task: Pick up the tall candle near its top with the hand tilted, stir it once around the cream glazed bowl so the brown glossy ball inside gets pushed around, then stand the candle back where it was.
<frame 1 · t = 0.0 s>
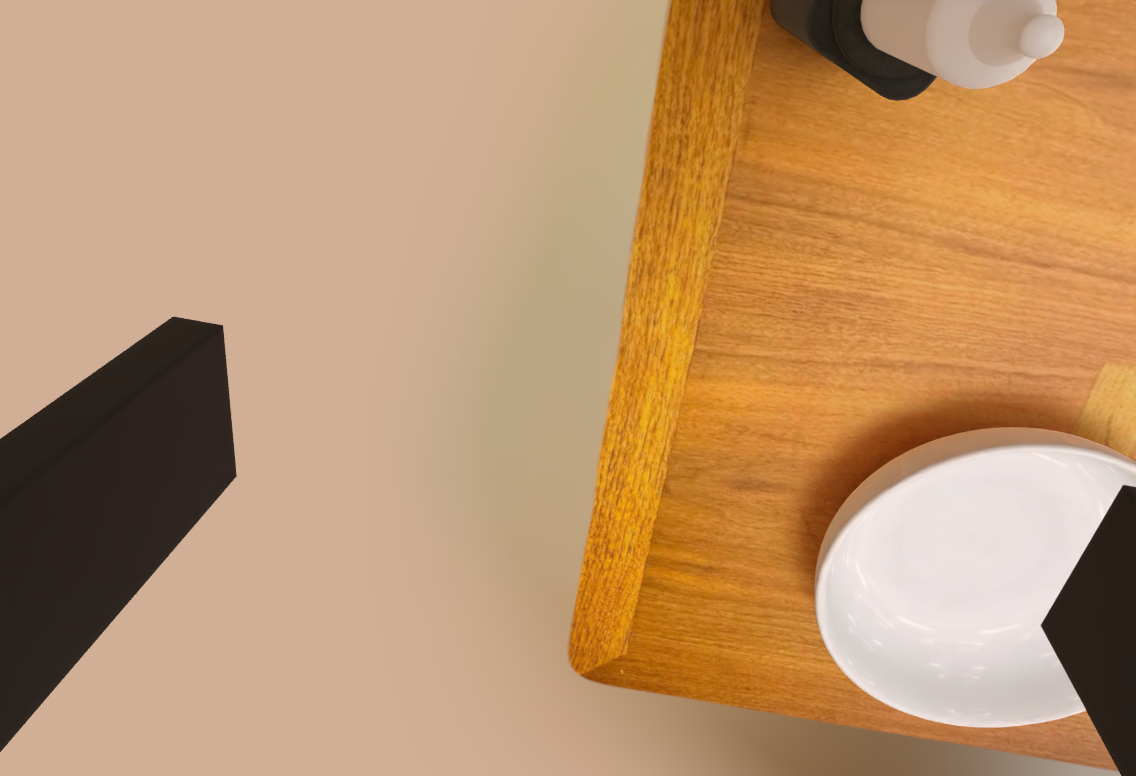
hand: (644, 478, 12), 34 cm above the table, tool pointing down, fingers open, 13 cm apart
serving bowl: (965, 526, 51), on the table
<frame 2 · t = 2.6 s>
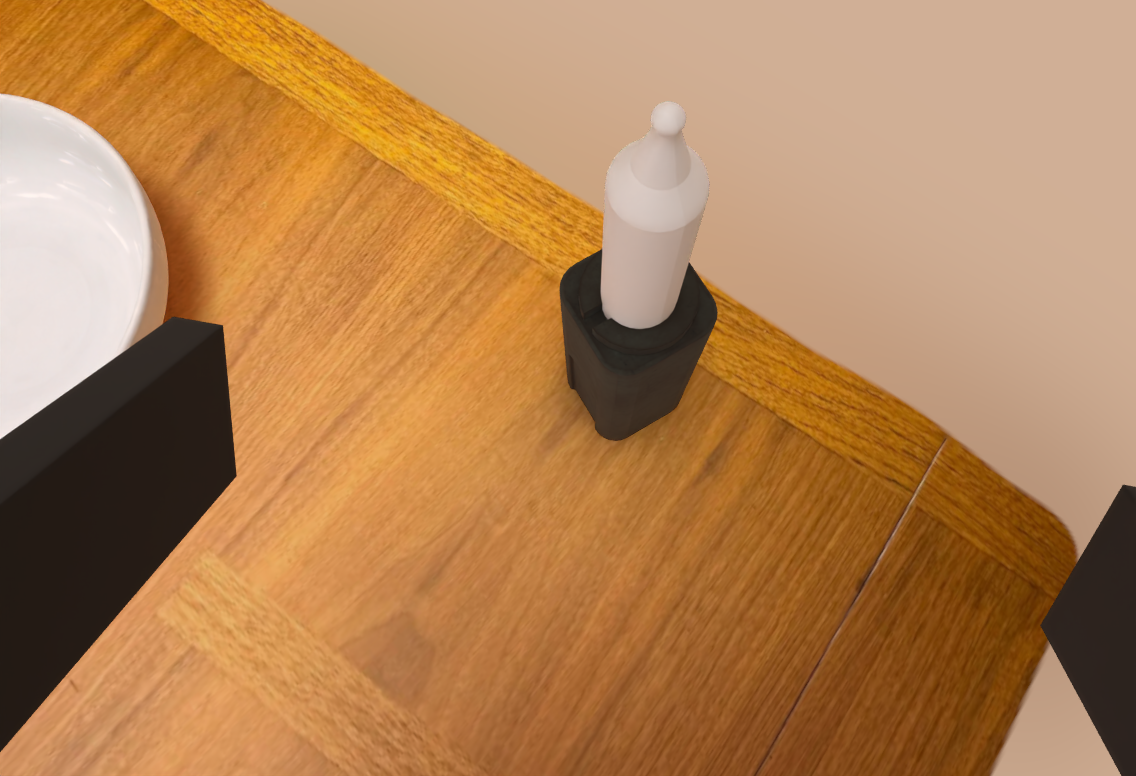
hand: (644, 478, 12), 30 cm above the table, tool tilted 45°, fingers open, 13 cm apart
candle: (623, 386, 43), on the table
serving bowl: (30, 326, 45), on the table
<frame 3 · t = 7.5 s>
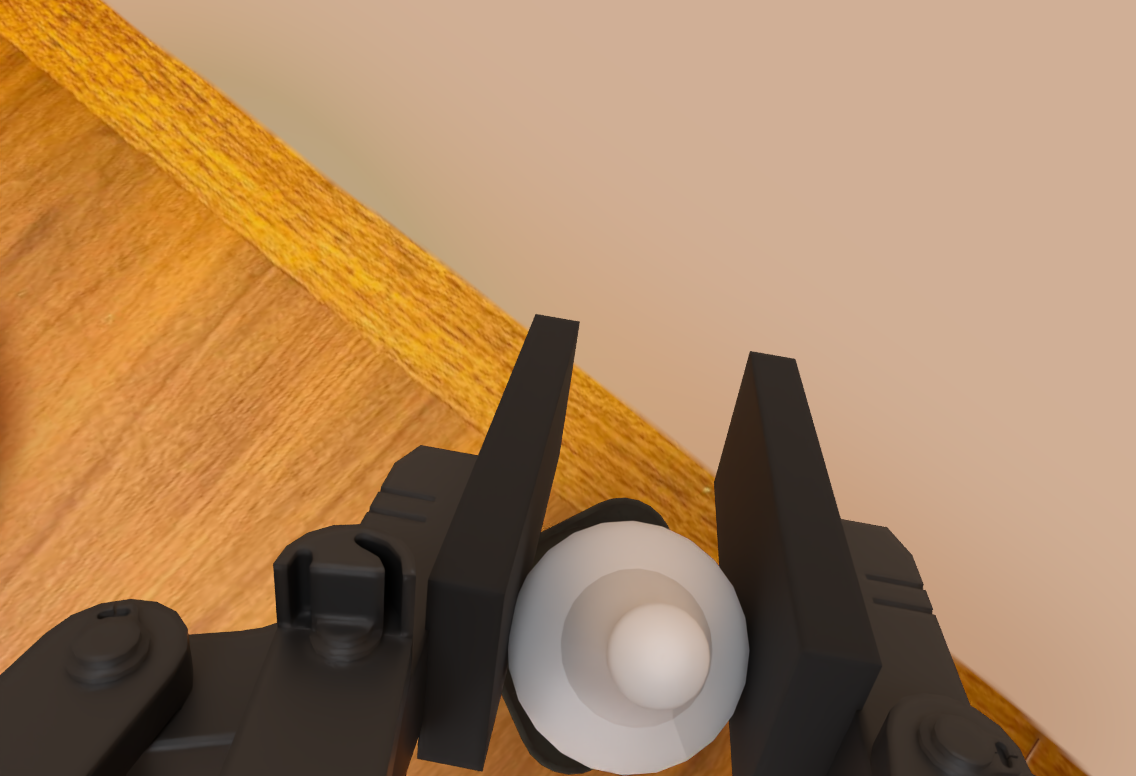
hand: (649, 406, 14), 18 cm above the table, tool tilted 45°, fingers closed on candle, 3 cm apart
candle: (584, 623, 30), on the table, touching gripper
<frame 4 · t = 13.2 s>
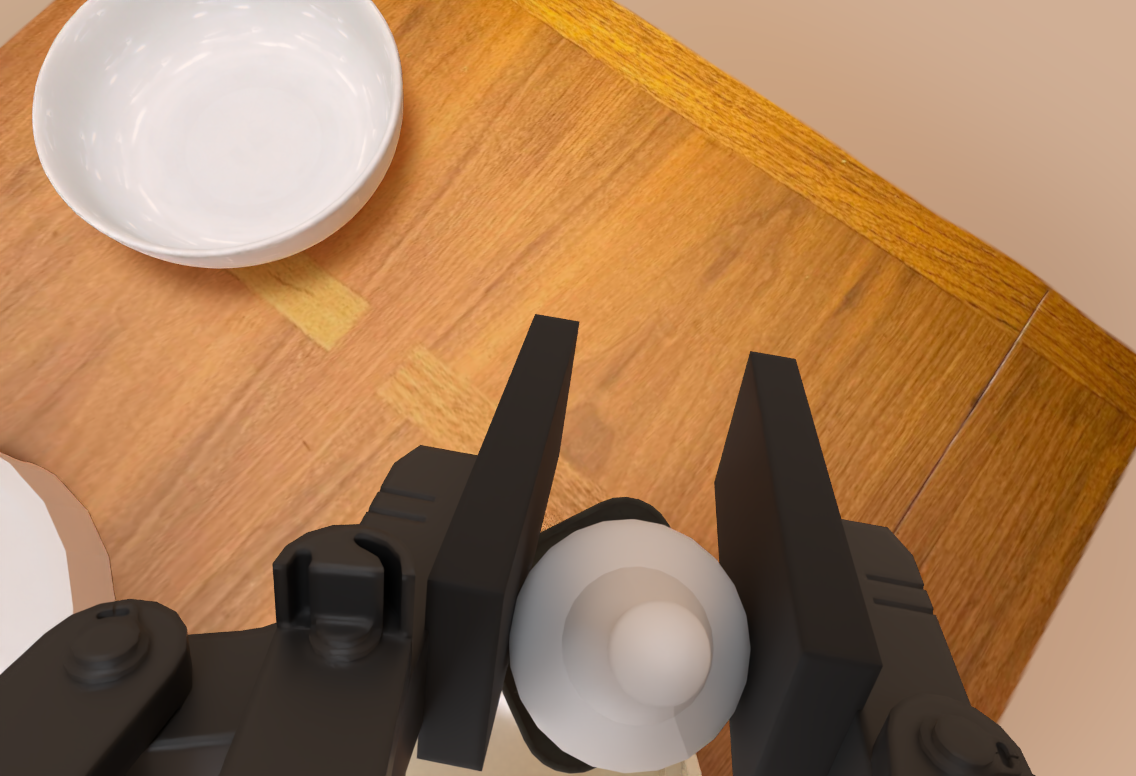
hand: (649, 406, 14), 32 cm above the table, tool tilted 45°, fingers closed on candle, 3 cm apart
mixing bowl: (519, 770, 42), on the table
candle: (585, 623, 30), point 14 cm above the table, touching gripper
serving bowl: (263, 156, 52), on the table
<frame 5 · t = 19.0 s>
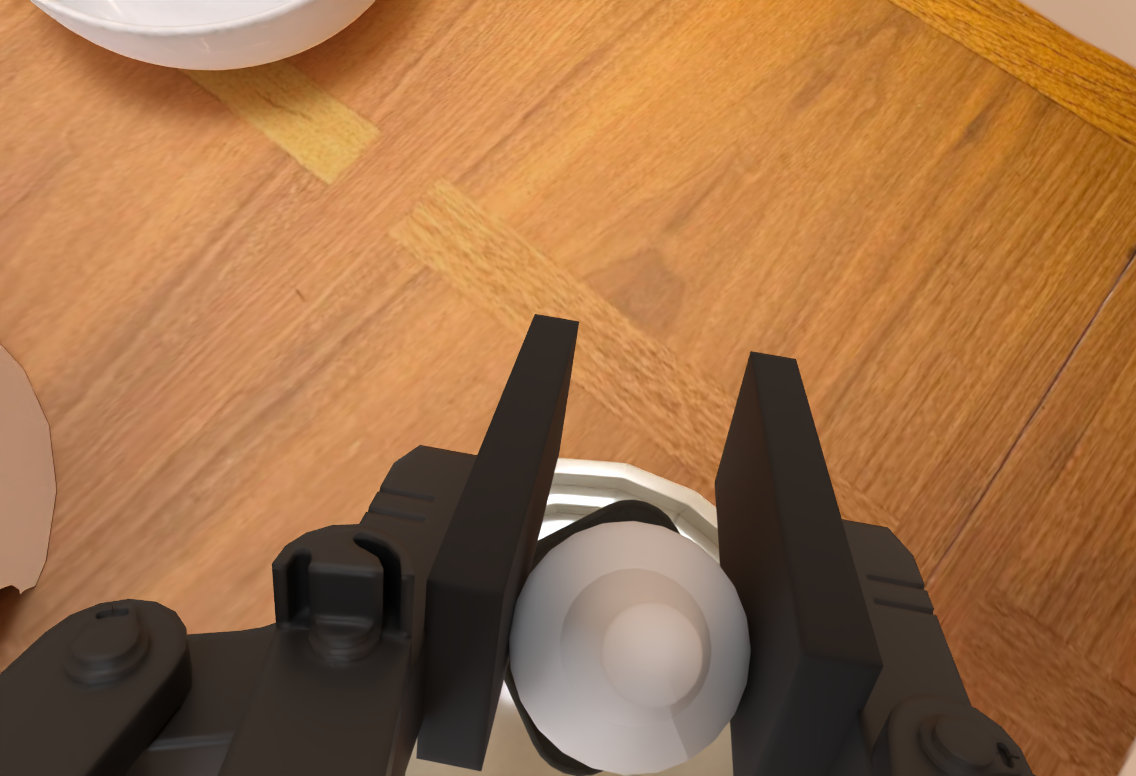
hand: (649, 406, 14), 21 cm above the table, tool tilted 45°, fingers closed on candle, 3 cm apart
mixing bowl: (570, 693, 32), on the table
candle: (596, 626, 30), point 3 cm above the table, touching gripper, brown glossy ball
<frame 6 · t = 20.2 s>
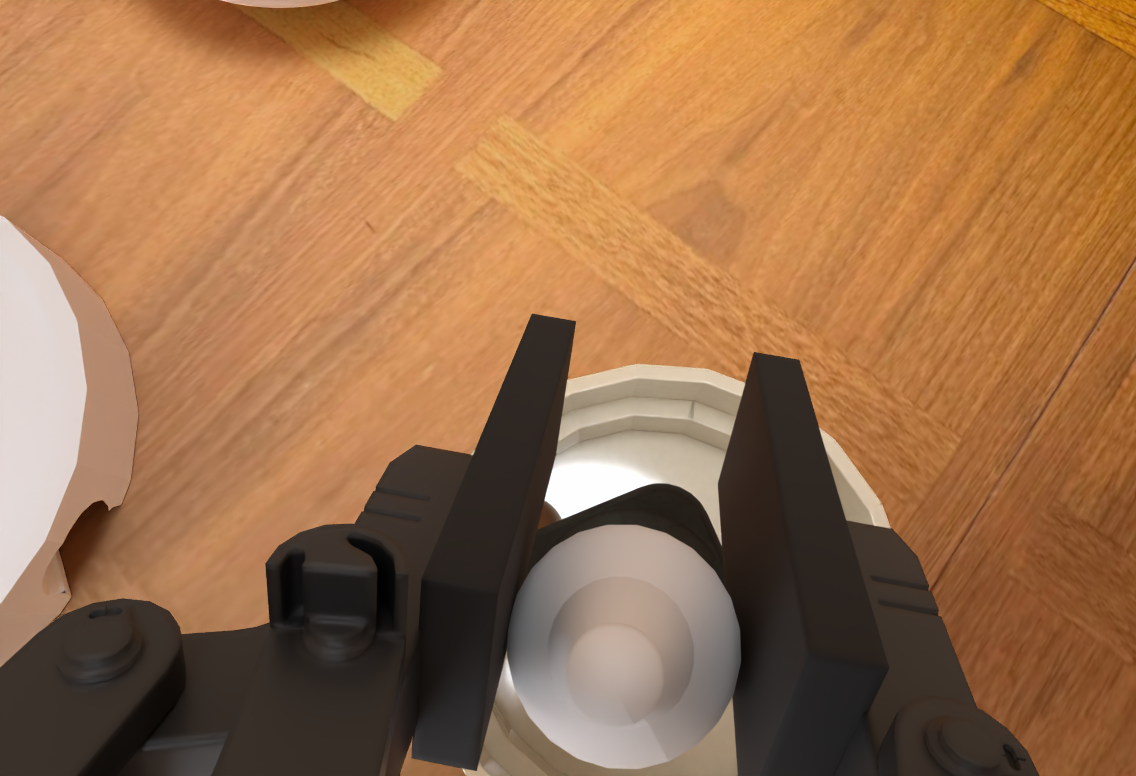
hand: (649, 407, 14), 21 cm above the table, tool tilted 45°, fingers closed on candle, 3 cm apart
mixing bowl: (646, 603, 33), on the table
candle: (634, 595, 31), point 3 cm above the table, touching gripper
brown glossy ball: (525, 535, 32), point 2 cm above the table, tilted 56°, touching mixing bowl
when the fingers open (18 cm above the table, at t = 31.0 s): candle stays where it is, on the table.
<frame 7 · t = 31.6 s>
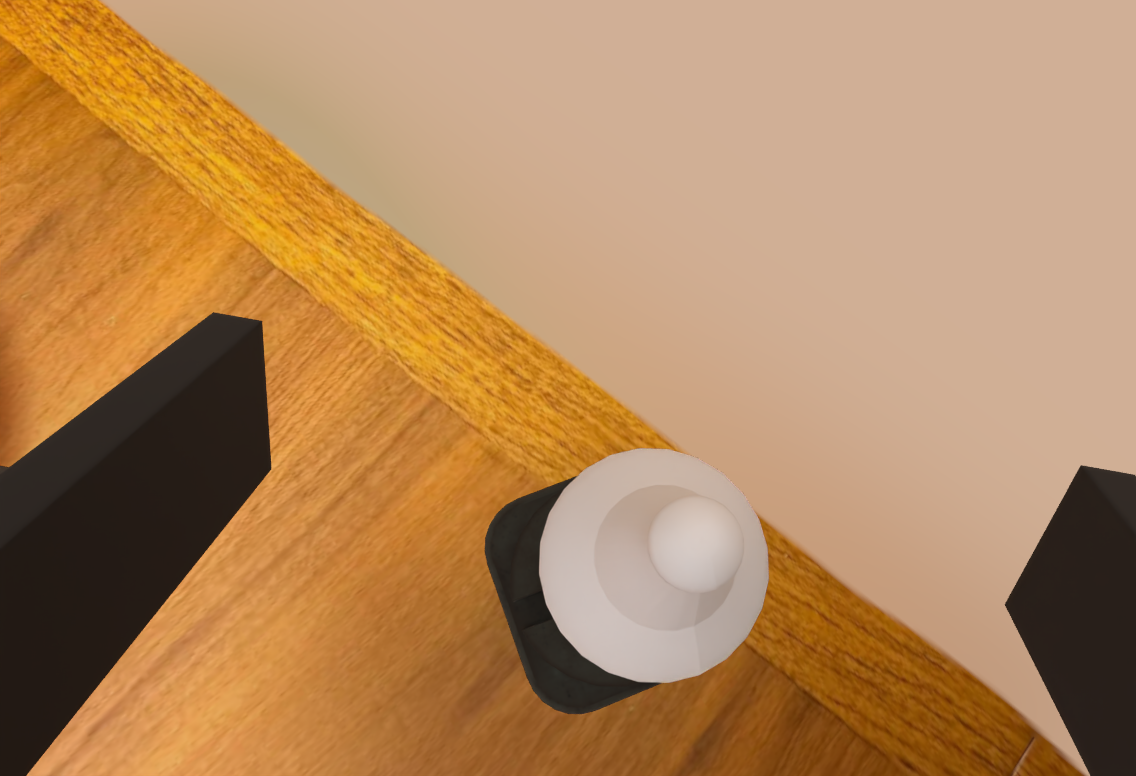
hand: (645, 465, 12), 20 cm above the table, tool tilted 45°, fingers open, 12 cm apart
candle: (588, 588, 31), on the table
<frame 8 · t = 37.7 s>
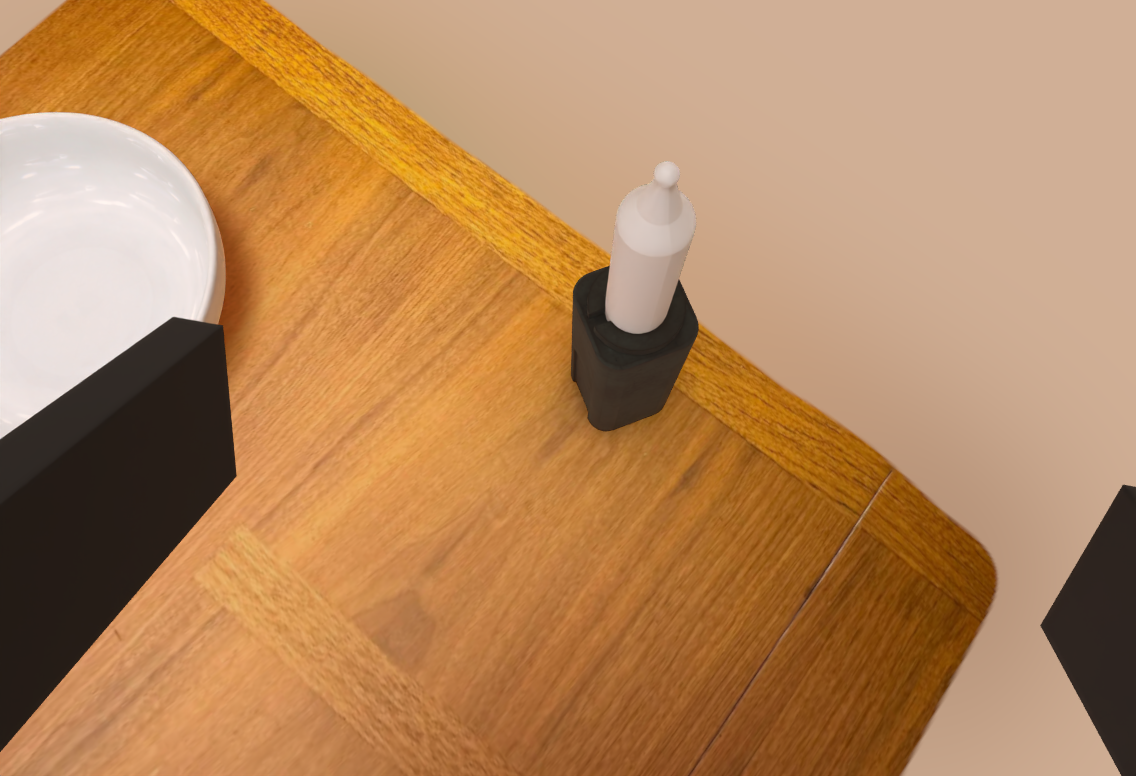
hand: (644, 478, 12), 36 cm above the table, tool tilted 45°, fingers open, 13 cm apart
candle: (617, 386, 50), on the table
serving bowl: (96, 317, 51), on the table
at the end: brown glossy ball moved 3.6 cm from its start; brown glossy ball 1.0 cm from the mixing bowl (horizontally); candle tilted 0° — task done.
